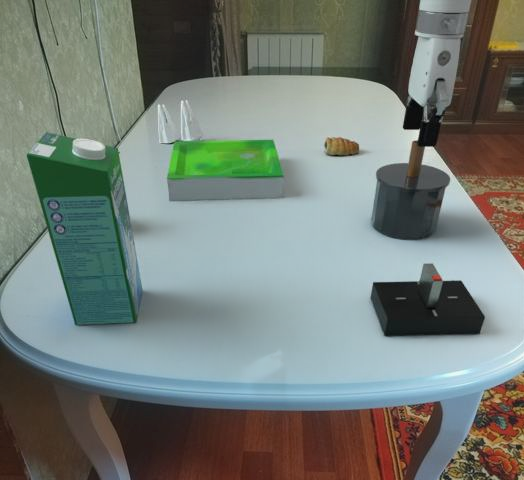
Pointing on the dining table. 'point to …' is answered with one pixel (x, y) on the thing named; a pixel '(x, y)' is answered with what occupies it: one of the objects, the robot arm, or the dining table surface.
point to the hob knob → (430, 285)
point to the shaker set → (188, 125)
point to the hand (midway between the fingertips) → (418, 137)
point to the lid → (413, 174)
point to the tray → (224, 170)
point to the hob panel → (425, 310)
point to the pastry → (340, 146)
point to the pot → (406, 212)
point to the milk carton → (88, 227)
